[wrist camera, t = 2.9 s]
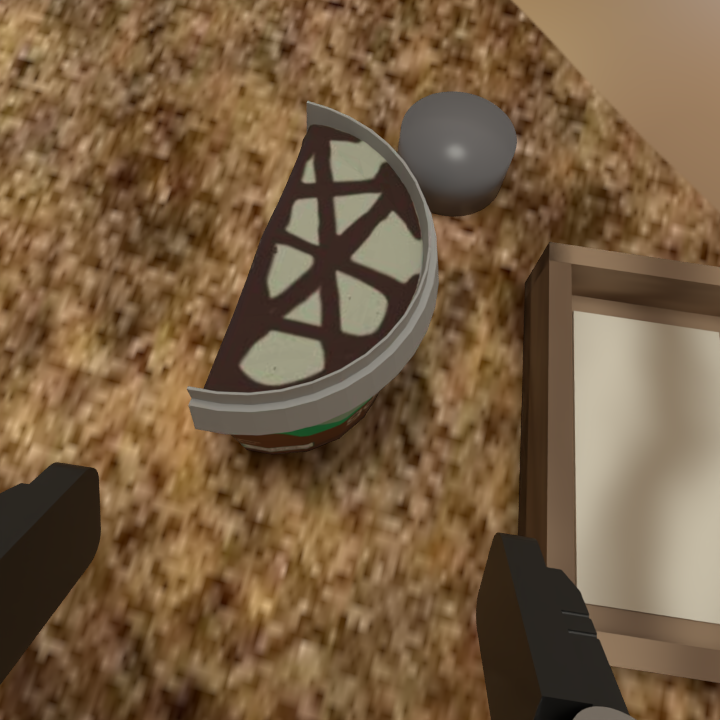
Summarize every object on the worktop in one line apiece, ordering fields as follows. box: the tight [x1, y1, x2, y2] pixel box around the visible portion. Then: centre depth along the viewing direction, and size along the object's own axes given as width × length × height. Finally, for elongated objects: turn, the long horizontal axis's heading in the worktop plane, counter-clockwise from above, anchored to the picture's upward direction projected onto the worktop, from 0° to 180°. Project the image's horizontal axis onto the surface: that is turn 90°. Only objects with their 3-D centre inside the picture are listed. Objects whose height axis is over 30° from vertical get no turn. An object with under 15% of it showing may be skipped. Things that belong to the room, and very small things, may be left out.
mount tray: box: [518, 242, 720, 683], centre depth 24 cm, size 11×17×4 cm, turn 172°
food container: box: [187, 101, 439, 454], centre depth 22 cm, size 12×6×10 cm, turn 165°
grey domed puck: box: [397, 92, 517, 216], centre depth 31 cm, size 6×6×3 cm
